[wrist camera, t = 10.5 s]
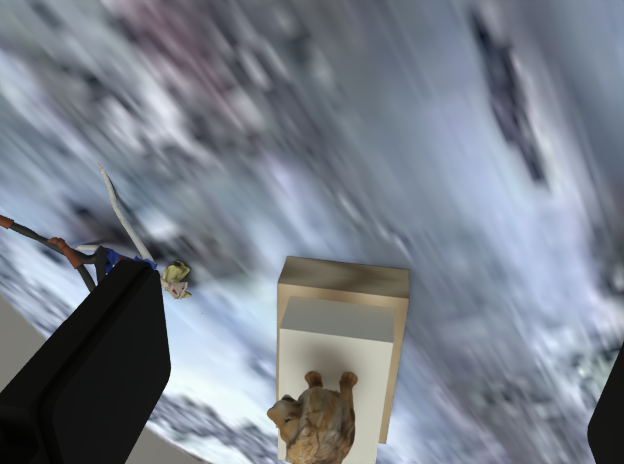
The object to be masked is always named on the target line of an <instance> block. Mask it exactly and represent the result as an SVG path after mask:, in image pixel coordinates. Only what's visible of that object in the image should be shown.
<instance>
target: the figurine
mask: <svg viewBox="0 0 624 464" xmlns="http://www.w3.org/2000/svg"><path fill="white" fill-rule="evenodd" d="M98 165H99V167H100V169H101V173H102V175H103V178H104V181H105V183H106V186H107V189H108V193H109V196H110V201H111V204H112V207H113V209H114V211H115V212H116V214H117V216H118V218H119V219H120V221H121V223H122V225H123V226H124V228H125V229H126V231H127V232H128V234H129V235H130V237H131V238H132V240H133V242H134V243H135V245H136V247H137V248H138V250H139V252H140V253H141V255H142V257H143V259H144V260H142V259H140V258H138V257H137V256H136V257H135V258H134V259H131V258H129V257H126V256H123V255H120V254H118V253H116V252H114V250H113V249H109V248H104V247H103V246H101V245H100V246H98V245H79V246H78V247H77V248H76V249H72V248H70V247H69V246H68V245H67V244H66V243H65V240H63V239H61V238H57V237H53V238H51V239H47V238H44V237H42V236H40V235H38V234H37V233H35V232H34V231H32V230H31V229H29V228H27V227H25V226H22V225H20V224H17V223H15V222H14V220H12V219H10V218H7V217H4V216H2V215H0V226H2V227H4V228H6V229H8V228H10V229H12V230H14V231H16V232H18V233H20V234H22V235H25V236H27V237H29V238H32V239H35V240H37V241H39V242H41V243H43V244H44V245H46V246H48V247H50V248H51V249H53V250H55V251H57V252H59V253H60V254H62V255H64V256H66V257H67V259H68V260H69V261H70V263H71V264H72V266H73V267H74V268H75V269H77V270H78V271H79V273H80V275H81V276H82V278H83V280H84V282H85V284H86V286H87V288H88V289H89V291H90V292H92V291H93V289H94V288H95V287H96V285H95V283H94V281H93V279H92V277H91V275H90V274H89V272H88V271H87V269H86V268H85V267H84V265H83V264H94V265H95V267H96V275H97V282H98V284H99V283H100V282H101V280H102V279H103V278H104V277H105V276H106V273H108V272H109V271H110V270H111V269H112V267H113V265H116V263H117V262H118V261H120V260H121V259H128V260H136V261H145V262H149V263H150V264H151V265H152V268H153V269H156V267H157V265H158V264H156V263H155V261H154V259H153V258H152V256H151V255H150V253H149V252H148V250H147V249H146V247H145V246H144V244H143V243H142V241H141V240H140V239H139V237H138V236H137V234H136V233H135V231H134V230H133V228H132V227H131V225H130V224H129V222H128V221H127V220H126V218H125V216H124V214H123V212H122V211H121V209H120V207H119V206H118V202H117V200H116V196H115V193H114V190H113V187H112V185H111V182H110V179H109V177H108V175H107V173H106V171H105V169H104V168H103V167H102V166H101V165H100V164H99V163H98ZM78 249H79V250H96V251H95V253H94V254H93V255H86V254H84V253H82V252H79V251H77V250H78ZM176 262H179V263H181V265H180V267H179V266H175V265H171V266H169V267H168V268H167V269H166V270H164V273H163V274H164V275H163V279H165V280H163V279H162V278H161V277H160V279H161V284H162V285H163V287H164V288H166V289H165V291H168V292H170V293H171V295H172V296H173V297H174V299H179V298H180V299H182V298H184V297H190V296H192V294H190V293H189V292H187V291H186V288H187V283H188V282H181V283H180V280H182V279H183V278H184V277H185V276H186V275H187V274H188V273H189V272H190V270H189V268H188V267H186V266H184V264H183V263H182V262H180V261H176ZM172 264H174V263H172ZM184 270H185V271H184ZM187 293H188V294H190V295H188V294H187ZM182 295H184V296H182ZM202 314H203V313H202Z"/></svg>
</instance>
